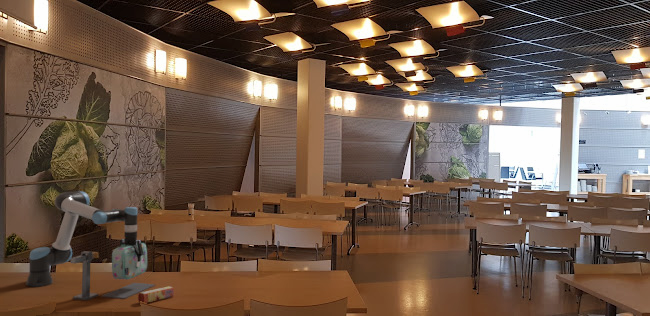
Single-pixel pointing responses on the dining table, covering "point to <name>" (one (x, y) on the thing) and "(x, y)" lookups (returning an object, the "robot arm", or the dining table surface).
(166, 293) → the snack package
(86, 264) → the latch post
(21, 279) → the dining table surface
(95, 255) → the bolt
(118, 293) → the mat
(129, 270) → the lunch box
